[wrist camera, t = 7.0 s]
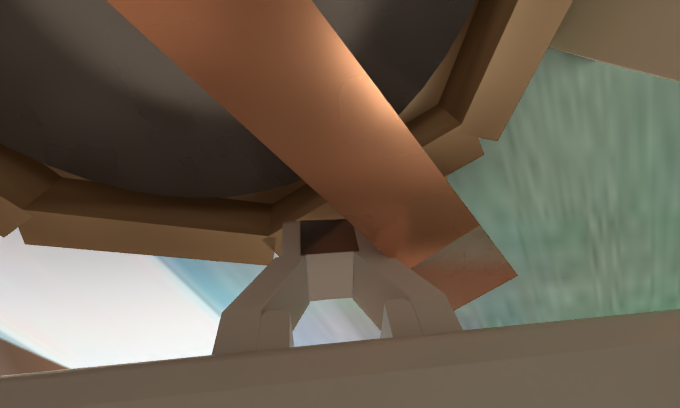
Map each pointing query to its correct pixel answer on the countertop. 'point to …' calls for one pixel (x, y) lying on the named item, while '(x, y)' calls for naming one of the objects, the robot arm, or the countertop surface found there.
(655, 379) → the robot arm
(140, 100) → the dial
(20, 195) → the dial housing
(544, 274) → the countertop surface
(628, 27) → the post
